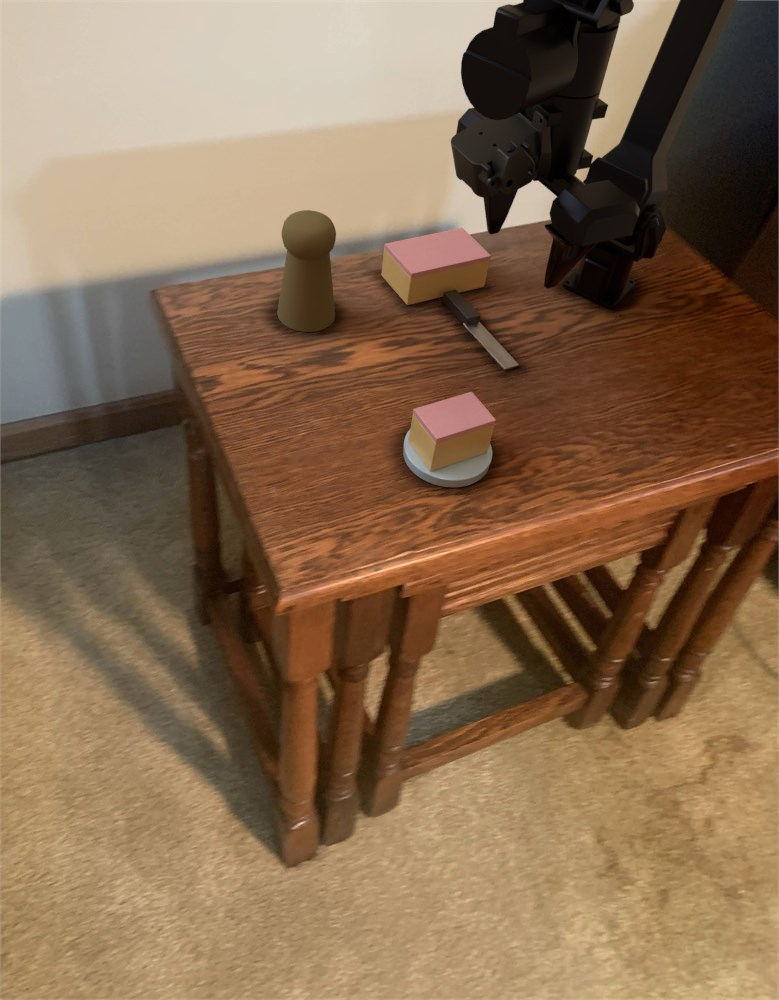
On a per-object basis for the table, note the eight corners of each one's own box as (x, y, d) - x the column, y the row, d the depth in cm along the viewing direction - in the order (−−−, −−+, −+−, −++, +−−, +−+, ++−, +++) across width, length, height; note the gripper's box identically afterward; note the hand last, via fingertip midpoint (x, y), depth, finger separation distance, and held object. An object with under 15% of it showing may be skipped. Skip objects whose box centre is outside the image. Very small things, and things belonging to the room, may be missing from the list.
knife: (455, 298, 92) (456, 288, 91) (518, 367, 85) (521, 357, 84) (441, 301, 91) (442, 292, 90) (504, 371, 84) (506, 361, 84)
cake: (380, 275, 93) (384, 243, 90) (456, 258, 97) (462, 227, 94) (407, 305, 90) (411, 273, 87) (484, 286, 94) (491, 255, 91)
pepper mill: (269, 301, 88) (268, 205, 80) (323, 293, 90) (328, 198, 82) (288, 336, 85) (289, 239, 76) (343, 326, 87) (350, 230, 78)
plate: (434, 412, 79) (435, 404, 79) (506, 452, 77) (508, 444, 76) (385, 458, 75) (386, 450, 74) (460, 502, 72) (462, 494, 71)
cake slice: (407, 441, 75) (413, 408, 72) (464, 424, 77) (471, 391, 74) (430, 471, 73) (436, 439, 70) (487, 452, 75) (496, 420, 72)
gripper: (414, 44, 67) (394, 222, 78) (550, 153, 57) (503, 339, 68) (528, 32, 71) (493, 202, 83) (673, 131, 61) (609, 310, 72)
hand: (520, 259), depth 76 cm, fingers open, 9 cm apart
